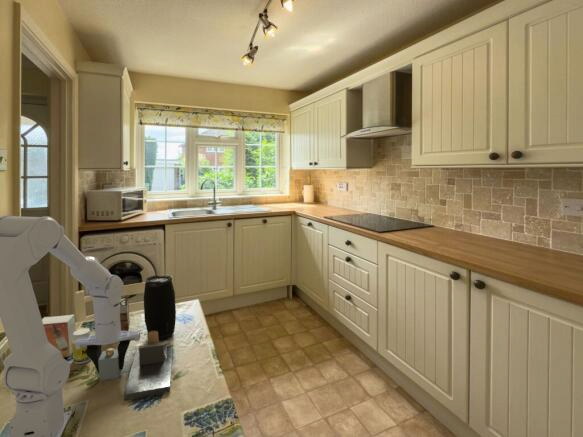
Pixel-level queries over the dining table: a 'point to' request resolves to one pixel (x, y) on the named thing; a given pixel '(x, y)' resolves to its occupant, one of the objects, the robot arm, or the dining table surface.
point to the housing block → (109, 365)
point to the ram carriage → (151, 350)
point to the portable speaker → (160, 306)
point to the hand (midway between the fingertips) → (111, 369)
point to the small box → (60, 332)
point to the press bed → (149, 376)
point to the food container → (124, 313)
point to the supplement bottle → (80, 354)
